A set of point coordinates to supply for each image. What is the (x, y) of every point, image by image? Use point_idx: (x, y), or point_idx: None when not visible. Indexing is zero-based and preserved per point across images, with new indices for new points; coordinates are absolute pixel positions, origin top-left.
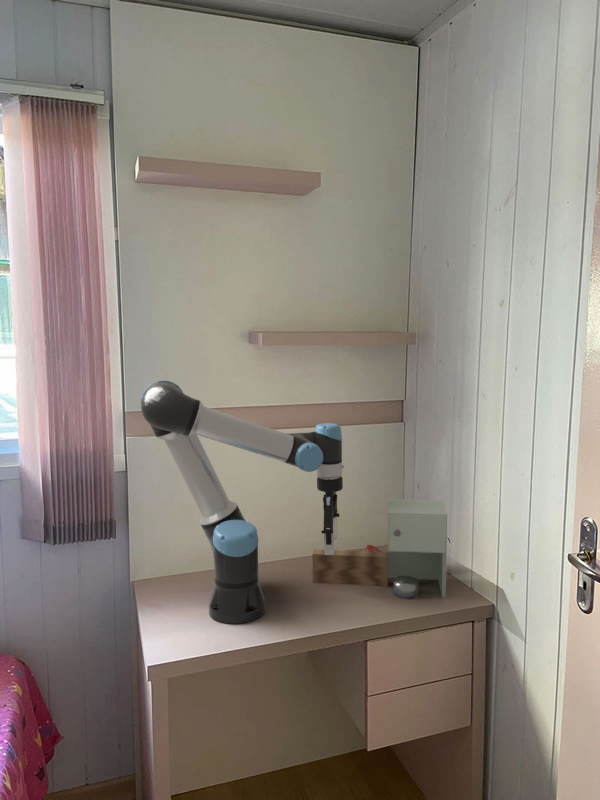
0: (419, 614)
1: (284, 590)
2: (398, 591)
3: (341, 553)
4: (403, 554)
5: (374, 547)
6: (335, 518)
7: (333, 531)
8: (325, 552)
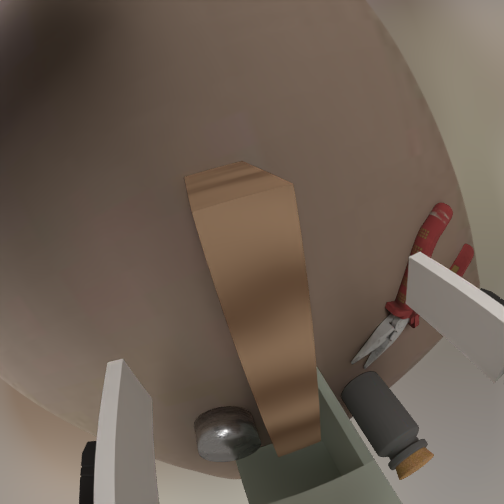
0: None
1: (65, 107)
2: (196, 433)
3: (267, 358)
4: (337, 438)
5: (459, 275)
6: (497, 376)
7: (439, 309)
8: (109, 379)
